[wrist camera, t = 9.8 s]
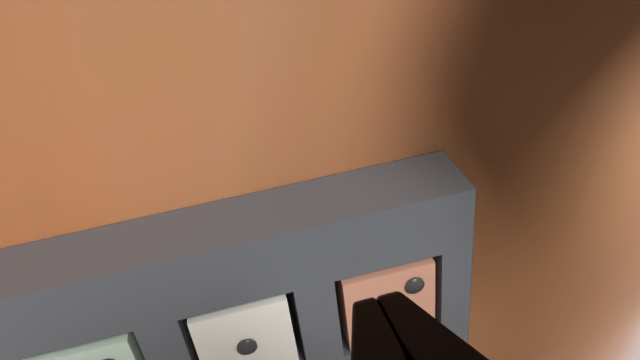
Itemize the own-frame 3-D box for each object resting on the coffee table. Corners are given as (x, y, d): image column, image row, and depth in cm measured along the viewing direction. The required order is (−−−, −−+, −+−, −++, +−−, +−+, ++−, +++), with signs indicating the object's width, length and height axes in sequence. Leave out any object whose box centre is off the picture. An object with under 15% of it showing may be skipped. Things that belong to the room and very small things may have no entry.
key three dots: (413, 226, 24) (436, 264, 22) (414, 290, 26) (436, 329, 24) (327, 247, 24) (343, 287, 22) (336, 310, 26) (351, 352, 24)
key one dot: (276, 259, 23) (287, 301, 21) (289, 322, 26) (300, 366, 23) (185, 281, 23) (187, 327, 21) (205, 344, 25) (209, 390, 23)
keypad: (443, 150, 23) (476, 189, 21) (440, 318, 29) (466, 364, 26) (-43, 258, 21) (-71, 317, 18) (57, 419, 26) (46, 481, 24)
